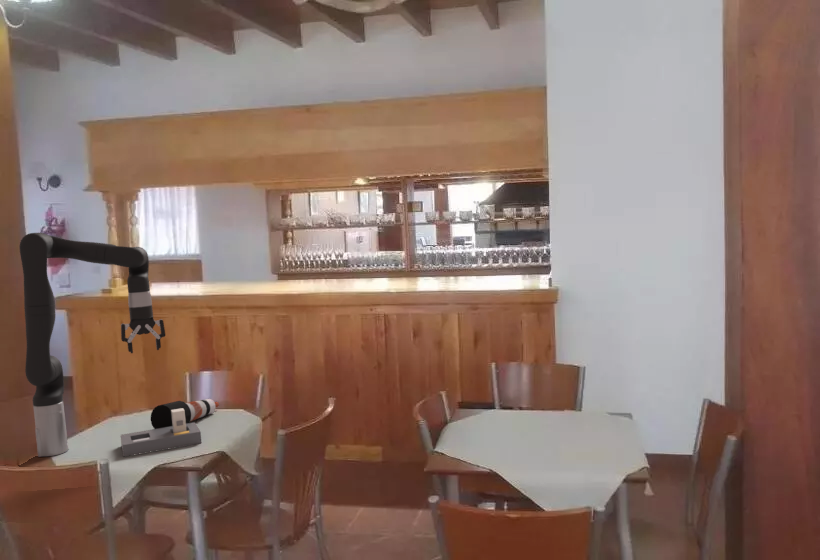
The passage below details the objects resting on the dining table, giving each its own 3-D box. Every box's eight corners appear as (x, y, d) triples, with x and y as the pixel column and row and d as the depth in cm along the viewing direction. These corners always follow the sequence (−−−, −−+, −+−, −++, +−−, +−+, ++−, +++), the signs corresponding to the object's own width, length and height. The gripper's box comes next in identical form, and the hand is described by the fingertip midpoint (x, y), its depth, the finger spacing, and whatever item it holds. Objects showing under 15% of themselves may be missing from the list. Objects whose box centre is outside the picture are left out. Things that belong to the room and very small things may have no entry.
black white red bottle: (221, 421, 296) (231, 399, 294) (167, 438, 263) (177, 413, 262) (202, 409, 299) (211, 387, 297) (146, 424, 267) (156, 399, 265)
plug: (175, 444, 252) (172, 412, 251) (174, 440, 256) (171, 410, 256) (187, 442, 254) (184, 410, 253) (185, 438, 258) (182, 408, 257)
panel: (123, 457, 242) (122, 444, 241) (121, 446, 254) (120, 434, 254) (201, 443, 252) (200, 431, 251) (195, 433, 264) (194, 421, 264)
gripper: (118, 308, 246) (123, 355, 248) (163, 303, 252) (167, 350, 253) (117, 306, 253) (122, 352, 255) (161, 301, 259) (165, 347, 260)
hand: (145, 351), depth 254 cm, fingers open, 8 cm apart
